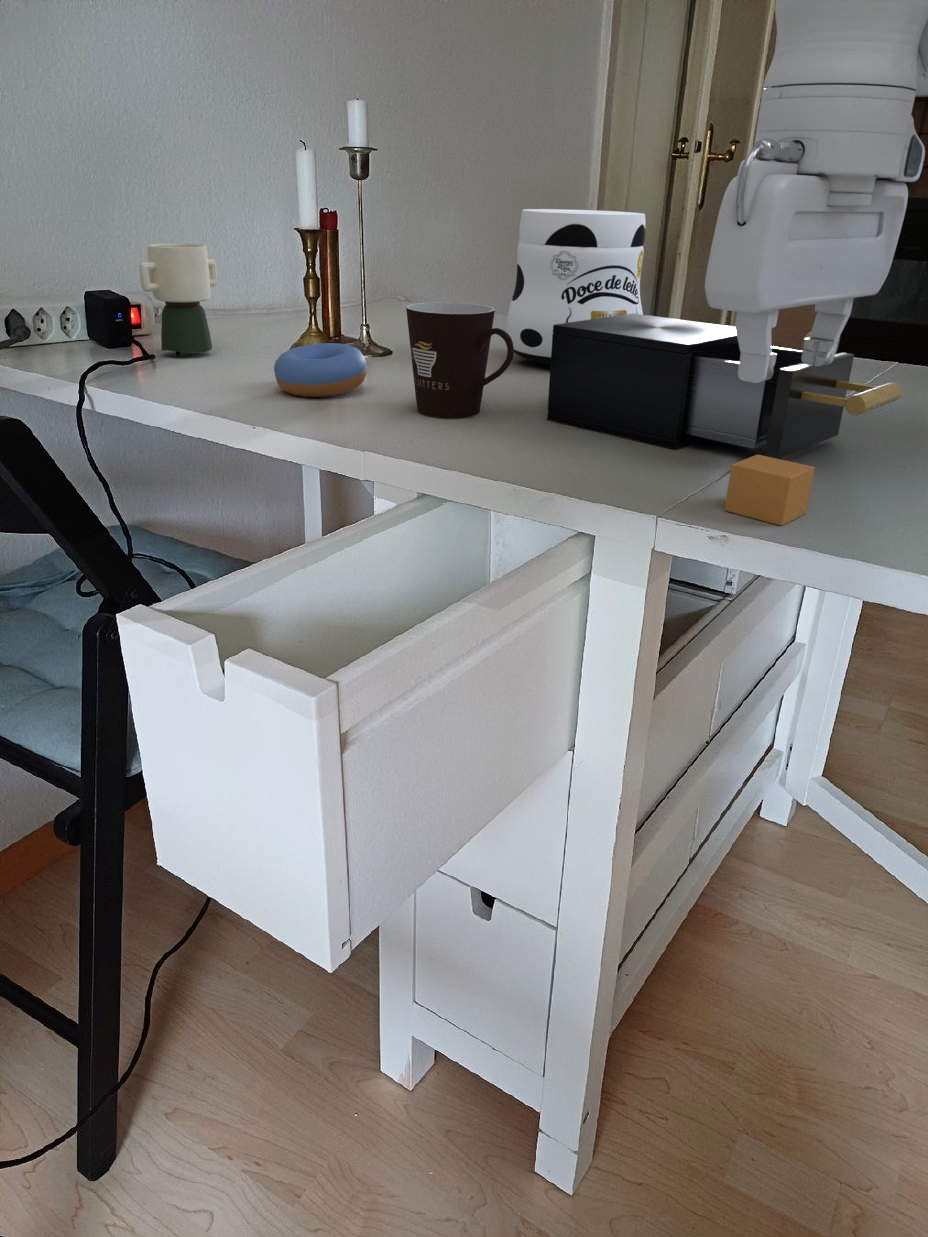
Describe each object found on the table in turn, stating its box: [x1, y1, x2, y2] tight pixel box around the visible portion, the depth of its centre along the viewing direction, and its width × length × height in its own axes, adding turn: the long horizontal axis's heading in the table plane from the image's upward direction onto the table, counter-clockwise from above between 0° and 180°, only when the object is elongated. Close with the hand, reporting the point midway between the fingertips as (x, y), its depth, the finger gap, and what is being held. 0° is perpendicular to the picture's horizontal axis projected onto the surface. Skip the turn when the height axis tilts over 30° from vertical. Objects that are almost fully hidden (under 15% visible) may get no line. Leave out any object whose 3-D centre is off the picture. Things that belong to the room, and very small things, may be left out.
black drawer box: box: [546, 313, 738, 450], centre depth 90 cm, size 15×14×9 cm
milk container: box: [506, 208, 646, 366], centre depth 117 cm, size 17×17×18 cm
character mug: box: [138, 242, 219, 357], centre depth 116 cm, size 11×7×13 cm, turn 140°
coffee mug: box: [405, 301, 515, 419], centre depth 91 cm, size 12×9×10 cm
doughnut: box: [273, 342, 368, 398], centre depth 100 cm, size 10×10×5 cm
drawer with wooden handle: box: [682, 343, 903, 460], centre depth 82 cm, size 19×12×7 cm, turn 47°
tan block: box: [724, 454, 816, 527], centre depth 67 cm, size 4×4×4 cm
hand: (786, 372), depth 63 cm, fingers open, 8 cm apart
